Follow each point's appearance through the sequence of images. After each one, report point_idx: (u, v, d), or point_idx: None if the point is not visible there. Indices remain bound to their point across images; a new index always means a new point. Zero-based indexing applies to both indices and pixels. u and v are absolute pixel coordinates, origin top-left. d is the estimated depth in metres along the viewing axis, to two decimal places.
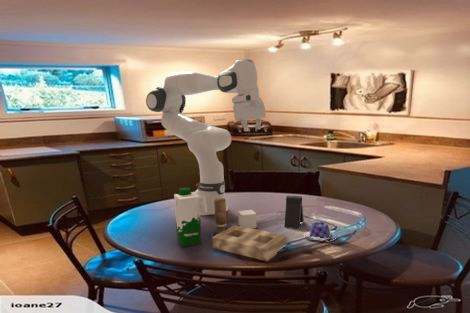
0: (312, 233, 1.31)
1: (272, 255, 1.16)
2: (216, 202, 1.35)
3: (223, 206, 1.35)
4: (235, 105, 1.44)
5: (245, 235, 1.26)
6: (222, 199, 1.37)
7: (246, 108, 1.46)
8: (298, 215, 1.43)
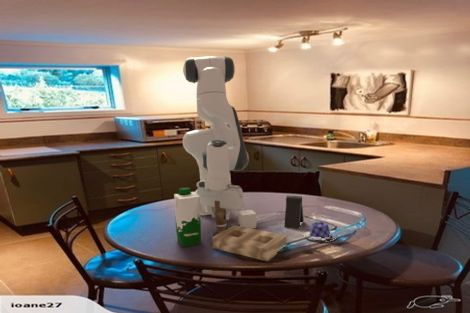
0: (312, 233, 1.31)
1: (272, 255, 1.16)
2: (216, 202, 1.35)
3: None
4: None
5: (245, 235, 1.26)
6: None
7: (206, 194, 1.38)
8: (298, 215, 1.43)
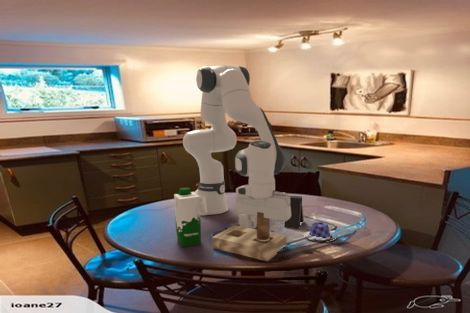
0: (313, 234, 1.31)
1: (272, 255, 1.16)
2: (259, 214, 1.19)
3: (267, 218, 1.19)
4: None
5: (245, 235, 1.26)
6: None
7: (246, 201, 1.22)
8: (298, 215, 1.43)
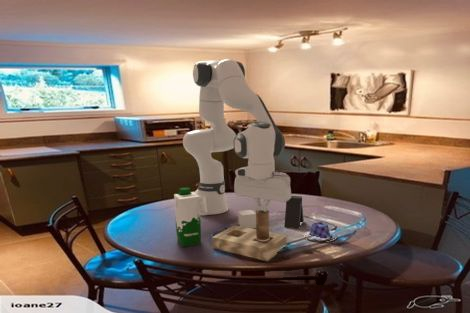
0: (314, 234, 1.30)
1: (272, 255, 1.16)
2: (259, 214, 1.19)
3: (266, 218, 1.19)
4: None
5: (245, 235, 1.26)
6: None
7: (245, 183, 1.21)
8: (298, 215, 1.43)
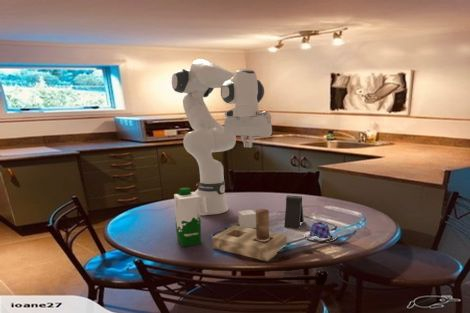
0: (315, 234, 1.30)
1: (272, 255, 1.16)
2: (259, 214, 1.19)
3: (266, 218, 1.19)
4: None
5: (245, 235, 1.26)
6: (265, 210, 1.21)
7: (233, 123, 1.41)
8: (298, 215, 1.43)
